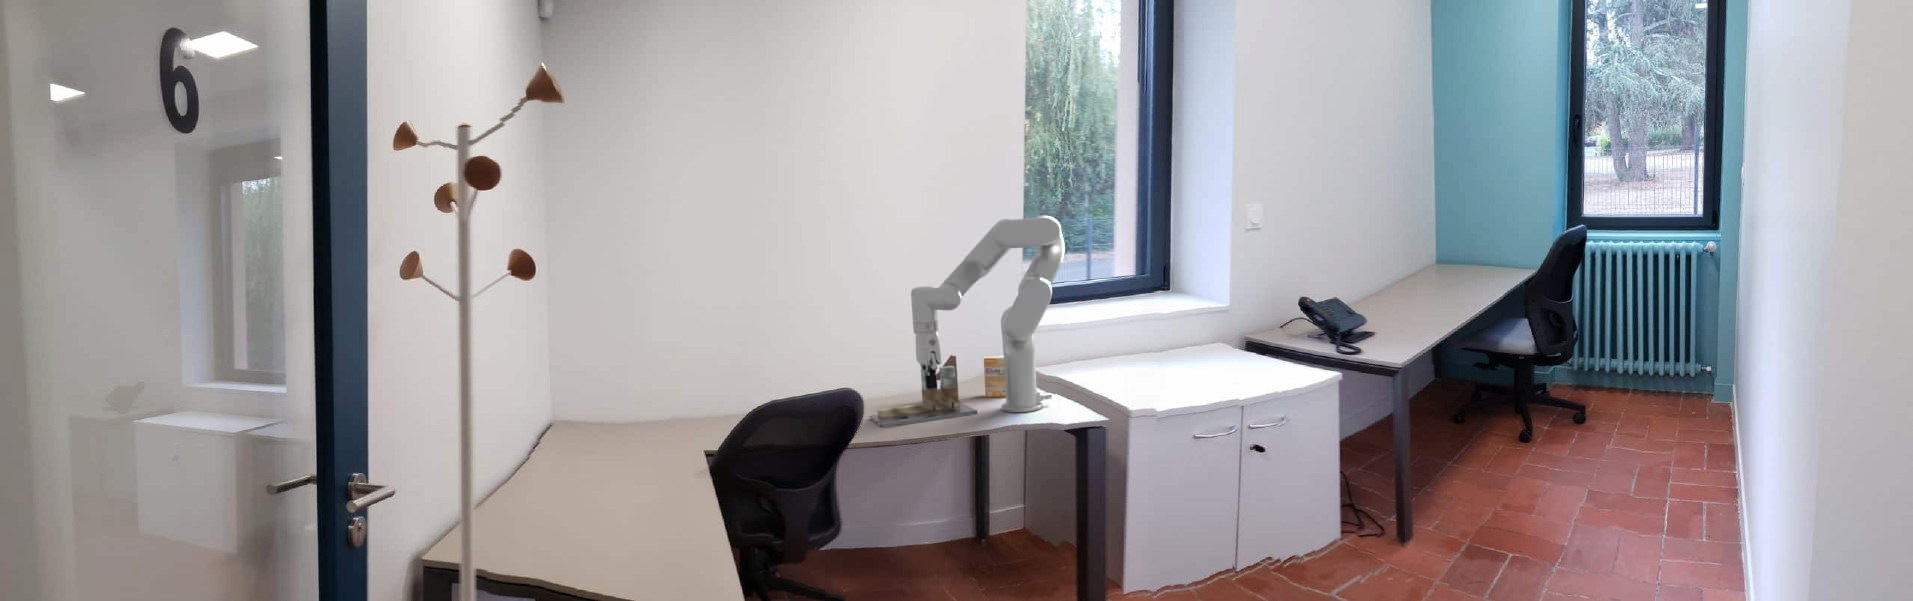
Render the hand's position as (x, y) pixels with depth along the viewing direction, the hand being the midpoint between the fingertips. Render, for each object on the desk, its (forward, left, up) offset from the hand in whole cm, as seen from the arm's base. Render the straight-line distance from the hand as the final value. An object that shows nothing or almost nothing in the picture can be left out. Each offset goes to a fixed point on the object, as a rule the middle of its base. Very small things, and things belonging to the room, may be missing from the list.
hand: (929, 386), depth 319 cm
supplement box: (-28, -12, -9) cm, 32 cm away
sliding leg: (0, 0, -7) cm, 7 cm away
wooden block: (-10, -17, -9) cm, 22 cm away
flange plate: (+3, +1, -9) cm, 9 cm away
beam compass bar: (+3, 0, -8) cm, 8 cm away
